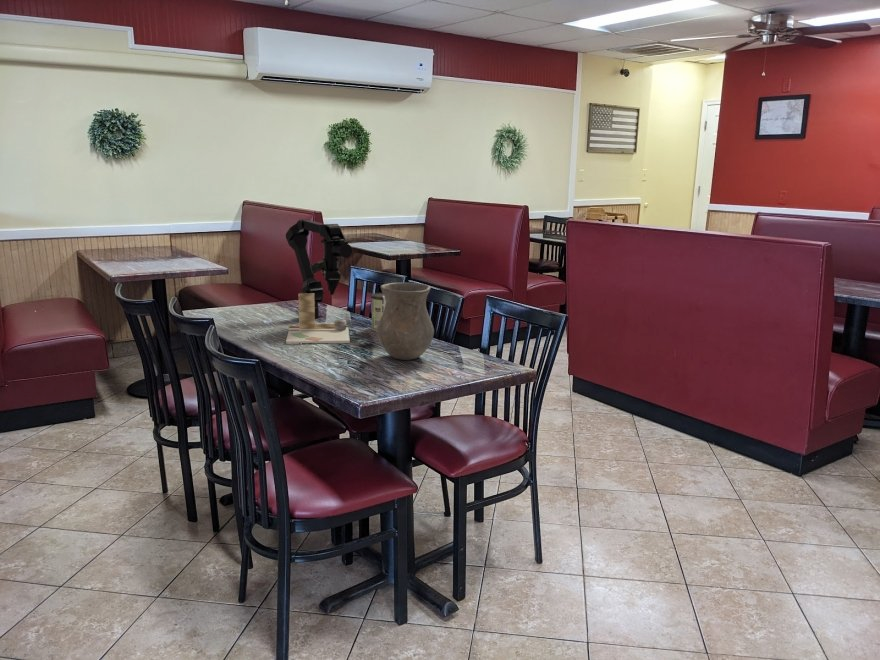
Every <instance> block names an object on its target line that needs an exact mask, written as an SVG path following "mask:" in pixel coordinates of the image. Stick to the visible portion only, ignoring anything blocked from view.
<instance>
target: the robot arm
mask: <svg viewBox="0 0 880 660" xmlns="http://www.w3.org/2000/svg"><path fill="white" fill-rule="evenodd" d="M311 232H312V233H313V232H314V233H317V234H318V235H319V236H320V237H321V238H323V239H322V240H321V241H320V243H321V244H323V257H322V260H319V261H316V262H313V263H311V261H310V258H309V254H308V250H307V243H308V236H309V235H310V233H311ZM285 239H286V241H287V244H288V246H289V247H290V248H292V250H293V251H294V254H295V257H296V260H297V261H296V262H297V264H298V267H299V271H300V275H301V279H302V281H303V283H302V287H301V293H314V301H315V319H317V318H321V317H322V315H320V314H319V309H320V307H319V304H322V303H323V299H324V294H325V293H324V288H323V285H322V282H321V280H318V281H317V279H316V278H315V275H314V274H316V273H318V272H320V271H321V273H322V276H324V280H325V281H326V284H327V289H328V291H329V294H330V296H333V295H334V294H335V292H336V289H337V287H338V284H339V283H340V280H341V279H342V277H341V275H342V274H341V272H340V271H339V258H344V259H348V258H350V257H351V255H352V254H353V248H352V246H351V245H350V244H349V241H348V240H346V239H345V235H344V233H343V231H342V228H341V227H340V225H339V224H338V223H322V222H318V221H314V220H311V219H309V218H305V219H298V221H297V222H296V223H295V224H293V225H292V226H290V227H289V228H288V230H287V231H286V233H285Z"/></svg>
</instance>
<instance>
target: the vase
mask: <svg viewBox="0 0 880 660" xmlns="http://www.w3.org/2000/svg"><path fill="white" fill-rule="evenodd" d="M380 290H381V293H383V294H384V296H385V299H386V305H385V309H384V312H383V315H382V317H381V320H380V322H379V325H378V327H377V331H376V335H377V338H378V341H379V344H380V345H381V347H382V348H383V350H384V351H385V352H386V353H387V354H388V355H389V356H391V357H392V358H394V359H396V360H401V361H411V360H416V359H418V358H420V357H421V356H422V355H423V354H424V353H426V351H427V350H428V348H429V346H430V345H431V344H432V341H433V338H434V334H435V328H434V325H433V322H432V319H431V317H430V314H429V313H428V309H427V298H428V295H429V292H431V286H430V285H428V284H424V283H416V282H401V281H400V282H390V283H389V282H388V283H384V284H382V285H380Z"/></svg>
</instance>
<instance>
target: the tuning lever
mask: <svg viewBox="0 0 880 660" xmlns="http://www.w3.org/2000/svg"><path fill="white" fill-rule="evenodd" d="M346 327H347V320H345V319H335V320H334V322H332V323H331V322H329V323H323V322H322V323H319V322H318V323H316V318H315V301H314V293H302V292H300V293H298V325H297V326H294V325H293V326H291V325H289V326H288V329H289V328H299V329H338V330H344V329H346Z"/></svg>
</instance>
